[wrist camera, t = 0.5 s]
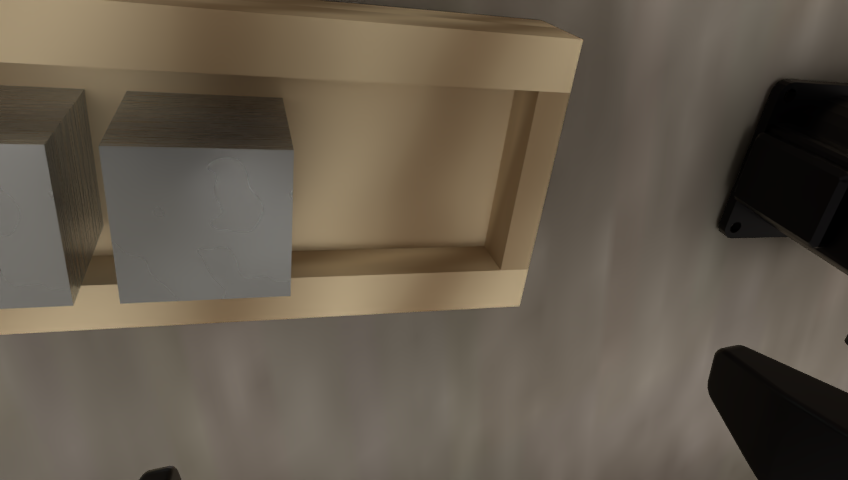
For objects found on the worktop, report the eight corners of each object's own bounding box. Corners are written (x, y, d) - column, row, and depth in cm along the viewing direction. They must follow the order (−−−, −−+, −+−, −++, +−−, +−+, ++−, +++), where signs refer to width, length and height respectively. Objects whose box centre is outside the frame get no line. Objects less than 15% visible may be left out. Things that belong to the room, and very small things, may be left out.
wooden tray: (541, 20, 19) (583, 39, 17) (491, 263, 24) (519, 306, 21) (-161, -44, 14) (-239, -28, 12) (-63, 282, 19) (-106, 340, 16)
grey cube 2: (282, 97, 17) (294, 150, 14) (281, 223, 19) (290, 296, 16) (126, 90, 16) (98, 146, 13) (141, 225, 18) (120, 303, 15)
